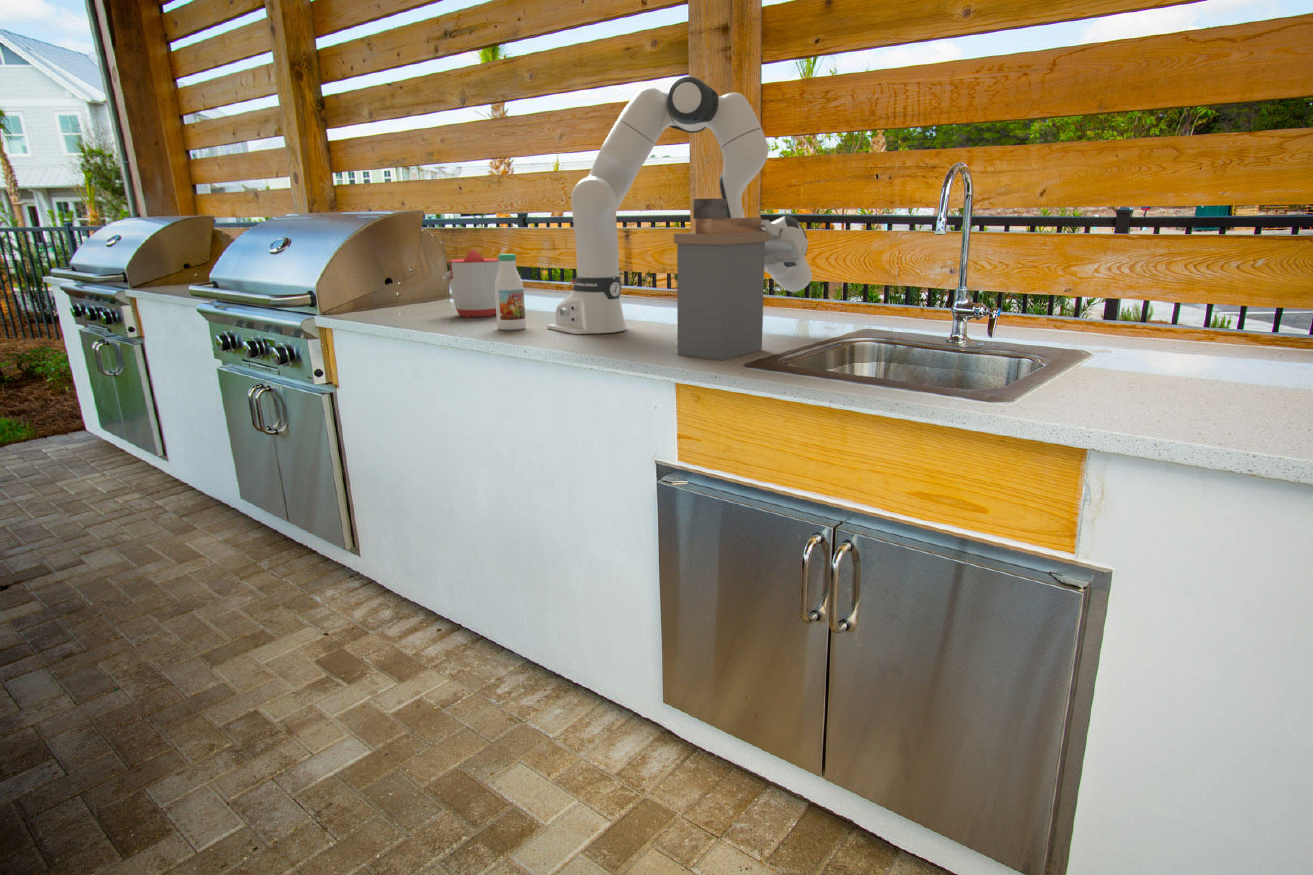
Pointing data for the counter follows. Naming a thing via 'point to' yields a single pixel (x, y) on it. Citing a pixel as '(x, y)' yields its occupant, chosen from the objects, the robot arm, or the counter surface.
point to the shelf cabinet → (720, 293)
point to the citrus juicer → (473, 284)
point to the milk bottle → (509, 295)
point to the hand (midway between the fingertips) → (746, 222)
